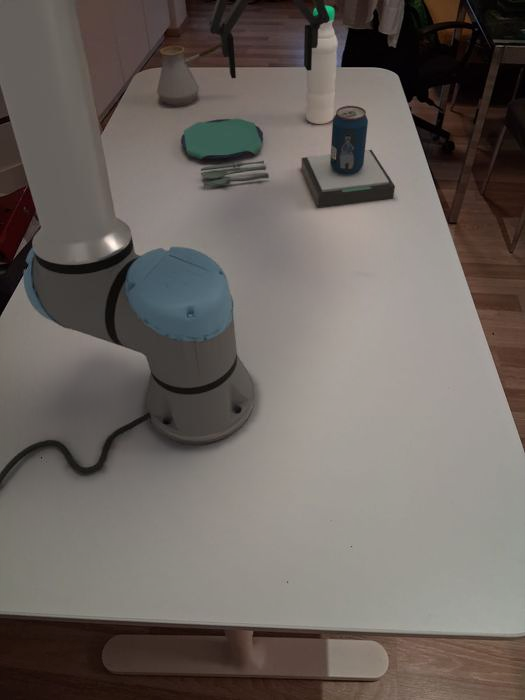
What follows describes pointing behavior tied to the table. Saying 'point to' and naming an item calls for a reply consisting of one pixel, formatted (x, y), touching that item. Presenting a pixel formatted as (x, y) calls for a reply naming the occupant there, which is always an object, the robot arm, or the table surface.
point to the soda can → (348, 140)
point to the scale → (346, 181)
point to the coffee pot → (178, 76)
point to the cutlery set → (224, 146)
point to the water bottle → (322, 74)
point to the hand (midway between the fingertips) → (270, 71)
